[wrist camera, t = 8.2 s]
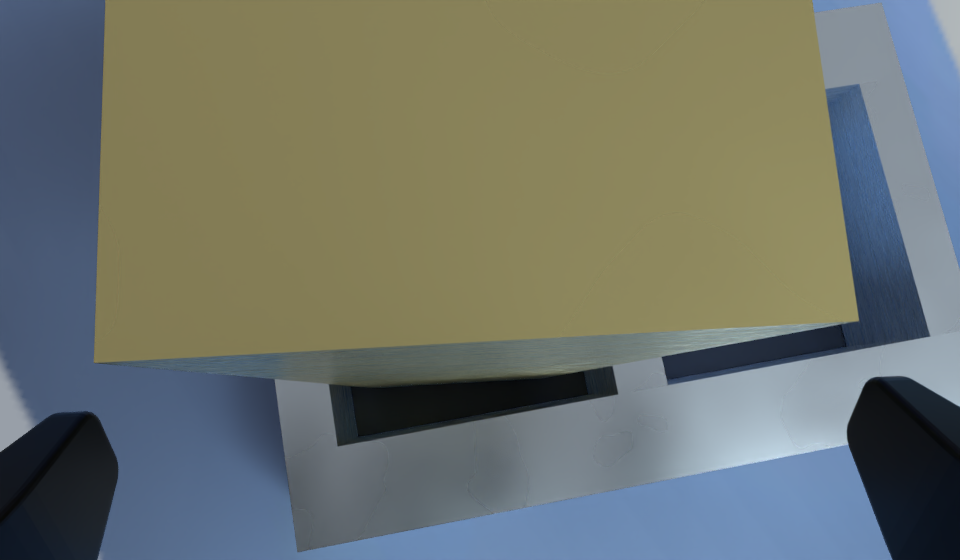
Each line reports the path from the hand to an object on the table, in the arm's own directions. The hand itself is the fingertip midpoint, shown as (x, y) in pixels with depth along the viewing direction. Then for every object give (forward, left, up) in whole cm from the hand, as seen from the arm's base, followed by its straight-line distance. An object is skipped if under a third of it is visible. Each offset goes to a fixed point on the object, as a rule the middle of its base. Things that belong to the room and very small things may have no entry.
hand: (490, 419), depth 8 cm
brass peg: (+3, 0, -8) cm, 9 cm away
